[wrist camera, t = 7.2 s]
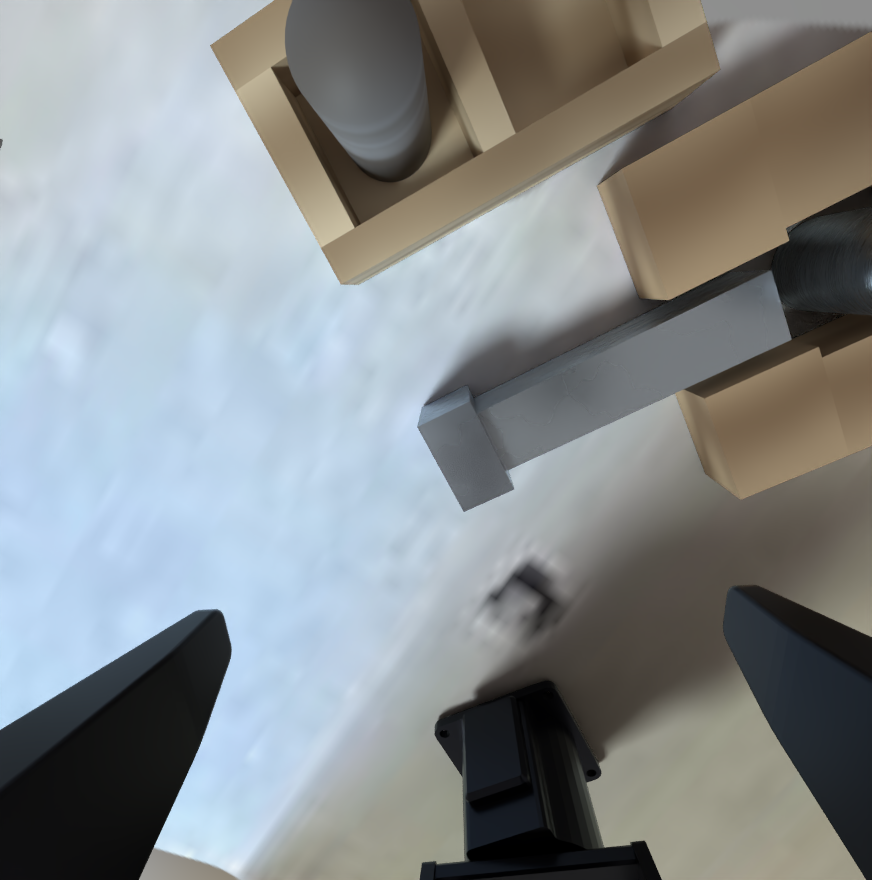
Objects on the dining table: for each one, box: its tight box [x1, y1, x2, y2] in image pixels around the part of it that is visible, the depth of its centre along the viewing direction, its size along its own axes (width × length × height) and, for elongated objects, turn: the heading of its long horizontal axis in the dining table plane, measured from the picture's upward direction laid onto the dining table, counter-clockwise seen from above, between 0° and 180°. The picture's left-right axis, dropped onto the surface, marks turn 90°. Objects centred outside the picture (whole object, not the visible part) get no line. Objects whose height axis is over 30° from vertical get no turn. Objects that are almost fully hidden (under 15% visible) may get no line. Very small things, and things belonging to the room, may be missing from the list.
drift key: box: [418, 270, 792, 512], centre depth 17 cm, size 4×12×3 cm, turn 117°
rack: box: [210, 0, 720, 285], centre depth 13 cm, size 7×12×7 cm, turn 117°
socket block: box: [597, 31, 872, 500], centre depth 16 cm, size 12×12×2 cm
